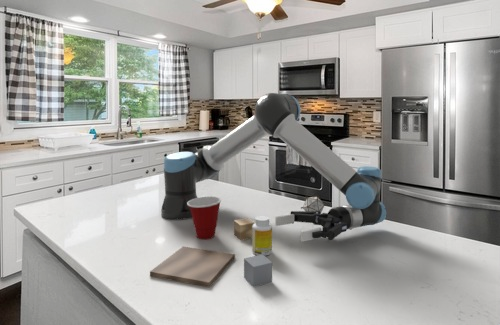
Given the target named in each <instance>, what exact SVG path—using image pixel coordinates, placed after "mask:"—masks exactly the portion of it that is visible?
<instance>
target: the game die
mask: <svg viewBox="0 0 500 325" xmlns="http://www.w3.org/2000/svg"><path fill="white" fill-rule="evenodd" d="M325 206H327V204H326V203H325V204H324V202H323V201H322V200H321V199H320V198H319V194H317V195H316V196H310V197H309V196H307V195H305V201H304V203H303V206H301V207H300V209H303V211H320V214H322V213H323V210H324V208H325Z"/></svg>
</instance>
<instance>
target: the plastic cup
mask: <svg viewBox="0 0 500 325" xmlns="http://www.w3.org/2000/svg"><path fill="white" fill-rule="evenodd" d="M221 202H222V199H221V198H220V197H218V196H213V195H212V196H200V197H198V198H195V199H192V200H190V201H188V202H187V205H188V206H189V208H190V210H191V213H192V218H191V219H192V222H193V223H192V224H193V226H194V231H195V236H196V237H197V238H198V239H200V240H209V239H210V240H211V239H213V238H214V237H215V235H216V229H217V224H218V218H219V210H220V204H221Z"/></svg>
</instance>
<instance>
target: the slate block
mask: <svg viewBox="0 0 500 325" xmlns="http://www.w3.org/2000/svg"><path fill="white" fill-rule="evenodd" d="M243 278H244V279H245V280H246V281H247V283H249V284H250V285H251V287H252V288H254V287H258V286H262V285H266V284H269V283H272V282H273V262H272V261H271V260H270V259H268V257H267V256H264V255H254V256H249V257H244V258H243Z"/></svg>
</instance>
